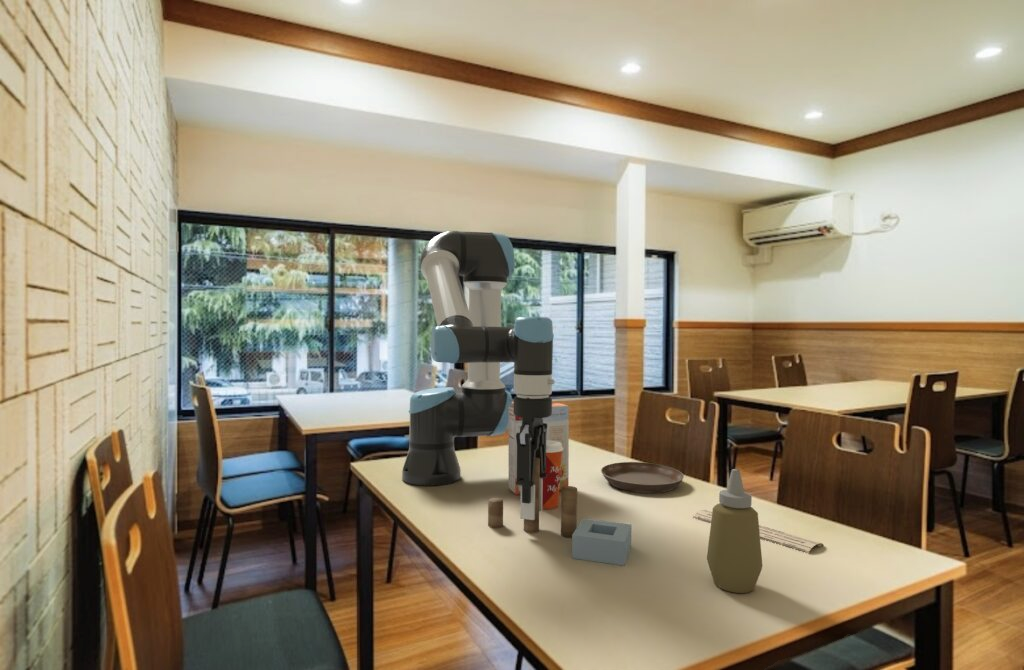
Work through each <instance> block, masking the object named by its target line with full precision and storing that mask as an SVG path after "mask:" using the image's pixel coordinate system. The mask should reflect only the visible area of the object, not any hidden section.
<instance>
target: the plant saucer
mask: <svg viewBox="0 0 1024 670" xmlns="http://www.w3.org/2000/svg"><path fill="white" fill-rule="evenodd" d="M600 471H601V474H602V476H603V478H604V479H605V480H606V482H608V483H609V484H610V485H611V486H613V487H614V488H617V489H620V490H623V491H626V492H634V493H640V492H642V493H643V494H644V493H645V494H657V492H660V493H665V491H667V492H670V491H672V490H674V489H675V488H677V487H678V486H679V485H680V484H681V482H682V481H683V480H684V478H685V477H684V476H685V475H684V474H683V472H681V471H680V470H678V469H675V468H673V467H670V466H666V465H662V464H657V463H652V462H651V463H650V462H640V461H639V462H638V461H624V462H621V461H620V462H613V463H610V464H607V465H604V466H603V467H602V468H601V469H600ZM669 490H670V491H669Z"/></svg>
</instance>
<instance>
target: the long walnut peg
mask: <svg viewBox="0 0 1024 670" xmlns="http://www.w3.org/2000/svg"><path fill="white" fill-rule="evenodd" d="M533 485H535V519H534V520H529V519H523V531H524V532H526V533H529V534H533V533H534V534H535V533H538V532H540V512H539V485H540V459H539V458H536V457H535V470H534V484H533Z"/></svg>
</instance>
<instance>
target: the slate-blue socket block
mask: <svg viewBox="0 0 1024 670" xmlns="http://www.w3.org/2000/svg"><path fill="white" fill-rule="evenodd" d="M631 547H632V523H623V522H616V521H615V522H614V521H605V520H598V519H592V518H591V519H590V518H582V519H581V520H580V522H579V524H577V528H576V530H575V531H574V533H573V534H572V538H571V559H577V560H582V561H583V560H584V561H591V562H598V563H603V564H611V565H616V566H617V565H619V566H623V567H624V566H626V562H627V560H628V557H629V553H630V551H631Z"/></svg>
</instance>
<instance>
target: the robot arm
mask: <svg viewBox="0 0 1024 670" xmlns="http://www.w3.org/2000/svg"><path fill="white" fill-rule="evenodd" d="M419 265H420V271H421V275H422V277H423V278H424V279H425V280H426V281H427V285H428V290H429V295H430V298H431V303H432V304H431V305H432V309H433V314H434V317H435V322H436V326H434V327H433V328H432V329H431V332H430V342H429V343H430V344H429V345H430V356H431V358H432V360H433V361H434V362H437V363H448V364H467V380H465V381H464V383H463V384H462V385H461V386H462V387H461V392H456V390H455V388H454V387H451V386H450V387H449V386H446V387H442V386H441V387H434V388H428V389H422V390H418V391H416V392H414V393H413V394H412V395H411V396H410V399H409V410H408V414H409V435H408V436H409V437H408V438H409V439H408V440H409V443H408V444H409V445H408V447H409V448H408V451H407V455H406V457H405V461H404V464H403V466H402V467H403V468H402V473H401V480H402V481H403V482H405V483H407V484H411V485H415V486H416V485H417V486H442V485H443V486H444V485H448V484H452V483H454V482H457V481H459V480H460V479H461V466H460V464H459V459H458V457H457V453H456V450H455V438H465V437H467V438H468V437H492V436H498V435H499V436H500V435H503V434H505V433H506V432H507V430H508V424H509V416H508V414H509V405H514V415H515V416H517V417H521V418H522V426H521V427H520V433H517V434H516V441H517V482H516V485H521V494H520V498H519V499H520V503H519V505H520V510H519V513H520V515H519V518H520V519H521V520H522V519H523V520H524V519H529V520H534V519H535V485H533V484H534V470H535V457H536V458H539V459H540V485H539V513H542V512H543V509H542V493H543V478H541V477H545V478H546V477H547V473H543V472H545V471H546V433H547V423H543V418H546V417H549V416H551V414H552V404H553V399H552V398H551V396H550V395H552V393H553V385H555V383H556V381H555V380H554V379H553V378H552V377H553V354H554V353H553V351H554V349H553V348H554V338H555V337H554V332H553V331H554V327H553V321H552V319H551V318H549V317H547V316H546V317H545V316H544V317H543V316H540V317H539V316H518V317H516V318H515V321H514V325H511V326H502V325H501V323H502V321H501V320H502V319H501V317H502V290H504V289H503V288H505V287H506V286H507V285H508V279H510V278H512V277H513V275H514V273H515V267H516V266H515V265H516V264H515V251H514V247H513V244H512V242H511V240H510V238H509V237H508V236H507V235H506V234H503V233H502V234H501V233H495V232H484V231H482V232H480V231H462V230H450V231H444V232H442V233H439V234H438V235H436V236H433V237H432V238H431V239H430V241H428V243H427V244H426V245H425V247H424V248H423V249H422V251H421V255H420V259H419ZM460 277H463V285H464V286H465V287H466V288H467V289H468V303H467V300H466V296H465V294H464V290H463V287H462V283H461V280H460ZM501 363H513V365H514V366H513V394H515V395H516V396H514V398H513V397H512V394H511V393H510V392H509V391H507V390H506V385H505V383H503V381H502V380H501Z"/></svg>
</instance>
